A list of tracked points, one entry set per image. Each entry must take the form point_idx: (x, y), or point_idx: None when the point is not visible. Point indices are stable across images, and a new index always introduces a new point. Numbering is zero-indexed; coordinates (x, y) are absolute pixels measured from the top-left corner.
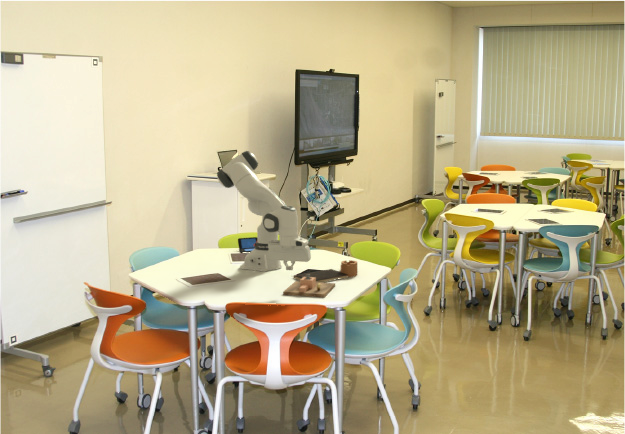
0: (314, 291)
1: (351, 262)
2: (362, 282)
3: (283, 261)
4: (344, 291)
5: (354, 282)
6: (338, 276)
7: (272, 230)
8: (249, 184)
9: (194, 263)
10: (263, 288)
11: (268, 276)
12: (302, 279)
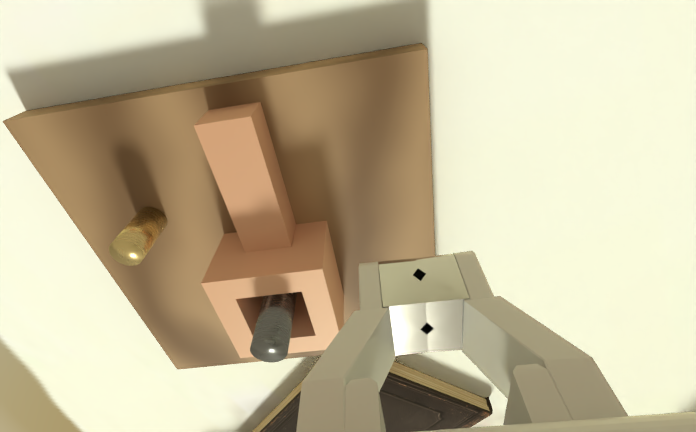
0: (152, 171)
1: None
2: (117, 426)
3: (614, 396)
4: (51, 292)
5: (150, 418)
6: None
7: None
8: None
9: None
10: (660, 170)
11: (647, 389)
12: (306, 283)
